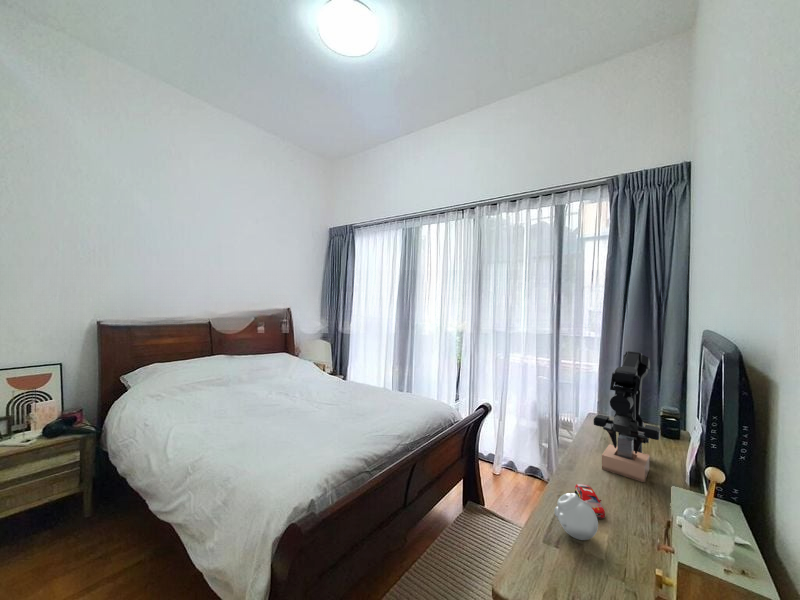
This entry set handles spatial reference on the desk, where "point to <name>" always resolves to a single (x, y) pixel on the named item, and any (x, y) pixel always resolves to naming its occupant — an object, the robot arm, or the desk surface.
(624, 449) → the grey rectangular block
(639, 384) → the robot arm
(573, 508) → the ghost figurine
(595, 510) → the race car
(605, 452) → the well
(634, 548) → the desk surface
